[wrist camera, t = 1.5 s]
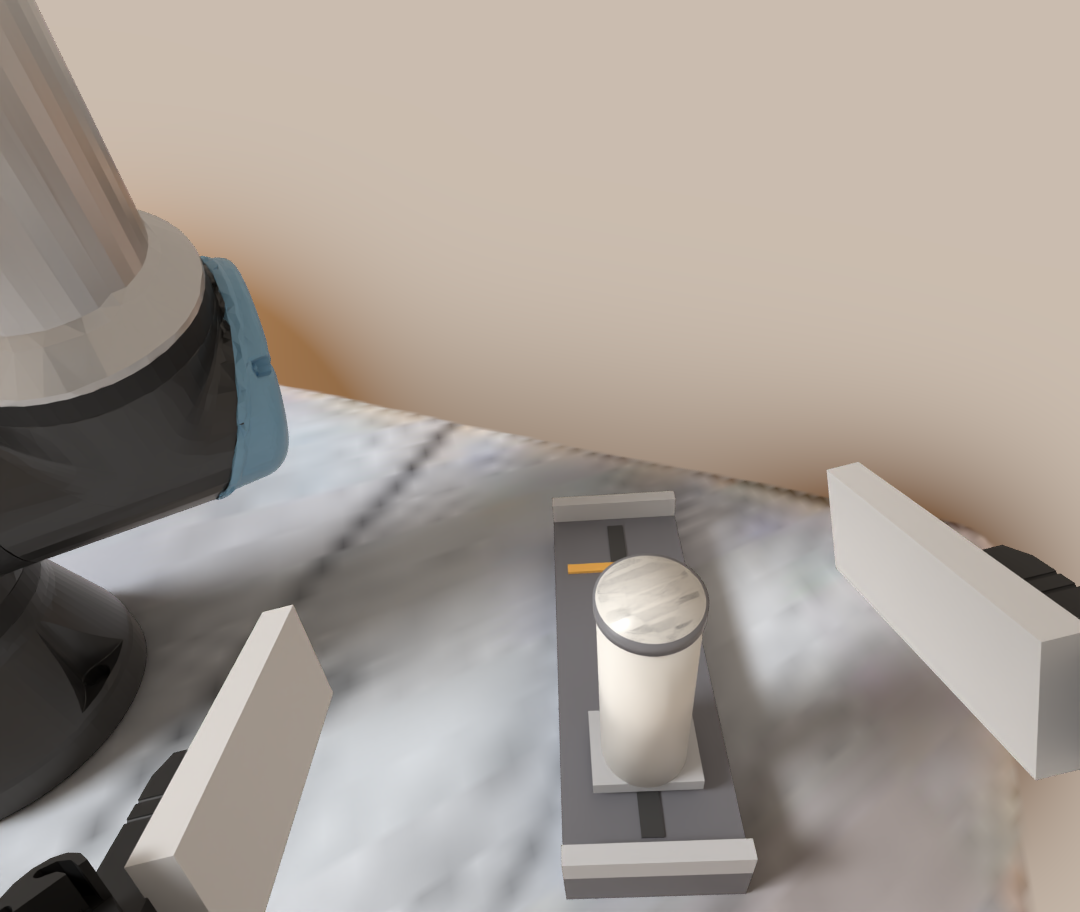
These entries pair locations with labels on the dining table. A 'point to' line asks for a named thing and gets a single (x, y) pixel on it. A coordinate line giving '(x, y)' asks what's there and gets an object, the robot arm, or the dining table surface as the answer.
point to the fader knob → (647, 675)
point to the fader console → (599, 818)
